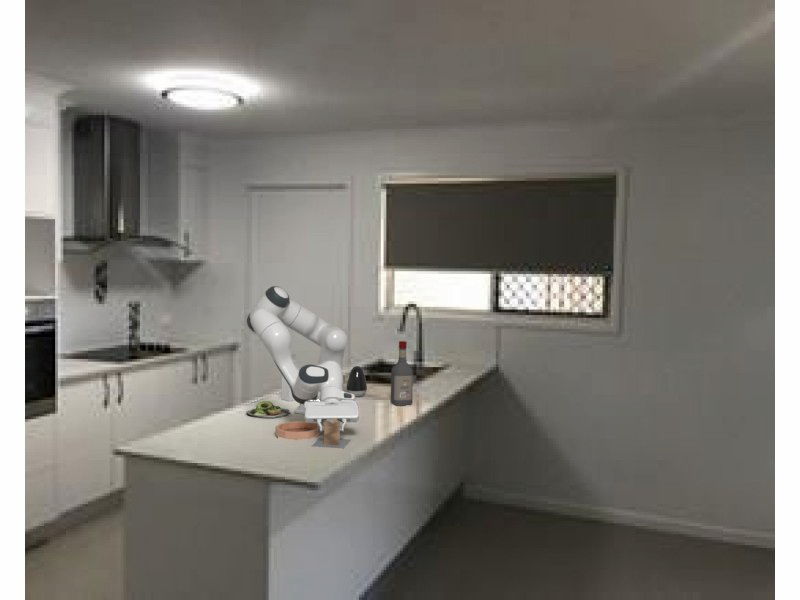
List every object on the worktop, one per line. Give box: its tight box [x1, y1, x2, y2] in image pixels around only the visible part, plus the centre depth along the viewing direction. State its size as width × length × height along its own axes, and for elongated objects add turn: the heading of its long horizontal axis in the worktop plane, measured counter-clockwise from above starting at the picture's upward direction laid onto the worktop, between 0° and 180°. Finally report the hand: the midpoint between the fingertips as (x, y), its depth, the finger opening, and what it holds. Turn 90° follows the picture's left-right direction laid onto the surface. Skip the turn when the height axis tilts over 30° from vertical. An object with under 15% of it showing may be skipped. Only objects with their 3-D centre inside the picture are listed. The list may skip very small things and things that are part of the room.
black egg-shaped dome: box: [346, 365, 368, 398], centre depth 330 cm, size 10×10×15 cm
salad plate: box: [245, 400, 292, 420], centre depth 289 cm, size 19×18×5 cm
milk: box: [281, 353, 300, 402], centre depth 319 cm, size 6×6×22 cm
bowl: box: [274, 420, 322, 440], centre depth 255 cm, size 17×17×4 cm
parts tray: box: [311, 437, 352, 449], centre depth 243 cm, size 12×12×1 cm
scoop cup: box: [323, 418, 341, 445], centre depth 243 cm, size 6×6×9 cm
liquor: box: [390, 340, 414, 407], centre depth 314 cm, size 9×9×30 cm
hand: (331, 431), depth 242 cm, fingers closed on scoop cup, 6 cm apart
